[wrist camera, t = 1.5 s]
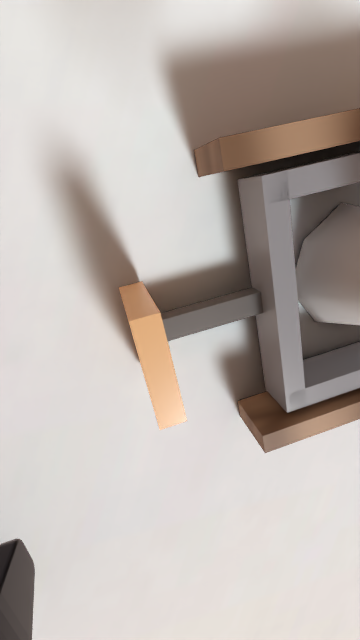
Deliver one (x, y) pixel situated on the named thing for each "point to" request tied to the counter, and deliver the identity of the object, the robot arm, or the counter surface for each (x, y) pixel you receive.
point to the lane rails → (260, 147)
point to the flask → (332, 268)
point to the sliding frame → (254, 301)
